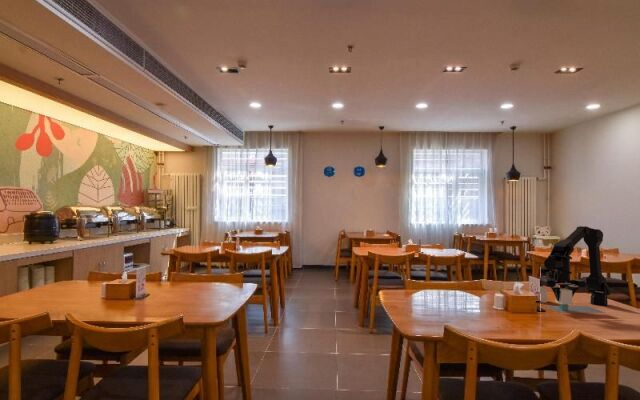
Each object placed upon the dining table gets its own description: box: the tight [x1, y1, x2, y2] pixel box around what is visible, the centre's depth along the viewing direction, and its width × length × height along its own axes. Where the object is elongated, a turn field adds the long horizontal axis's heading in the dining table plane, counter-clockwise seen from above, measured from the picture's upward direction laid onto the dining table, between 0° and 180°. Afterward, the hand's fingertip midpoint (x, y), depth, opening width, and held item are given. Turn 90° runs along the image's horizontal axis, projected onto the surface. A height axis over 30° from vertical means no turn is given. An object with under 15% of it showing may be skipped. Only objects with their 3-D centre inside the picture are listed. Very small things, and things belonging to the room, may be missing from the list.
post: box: [558, 303, 569, 311], centre depth 197 cm, size 3×3×5 cm
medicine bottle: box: [538, 278, 548, 303], centre depth 218 cm, size 7×7×12 cm
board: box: [544, 305, 606, 314], centre depth 198 cm, size 22×14×1 cm, turn 89°
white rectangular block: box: [554, 287, 573, 305], centre depth 197 cm, size 5×5×7 cm
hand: (563, 300), depth 197 cm, fingers closed on white rectangular block, 5 cm apart
